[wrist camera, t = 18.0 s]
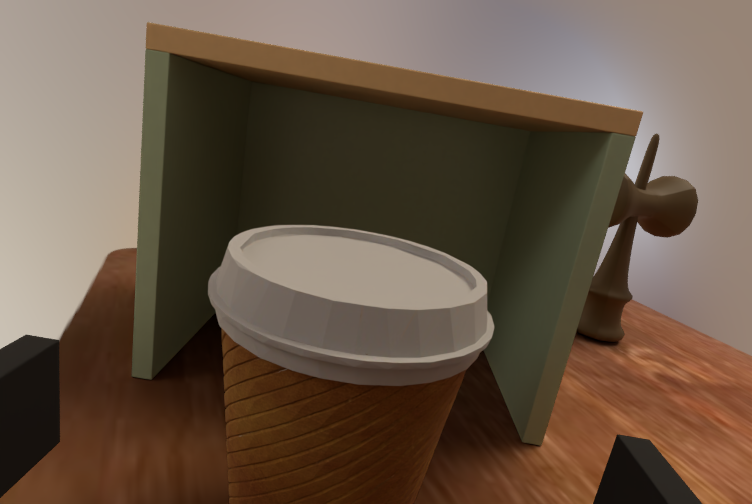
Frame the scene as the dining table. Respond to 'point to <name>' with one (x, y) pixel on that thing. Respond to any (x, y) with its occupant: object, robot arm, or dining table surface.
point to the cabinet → (374, 187)
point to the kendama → (656, 216)
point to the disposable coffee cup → (340, 361)
